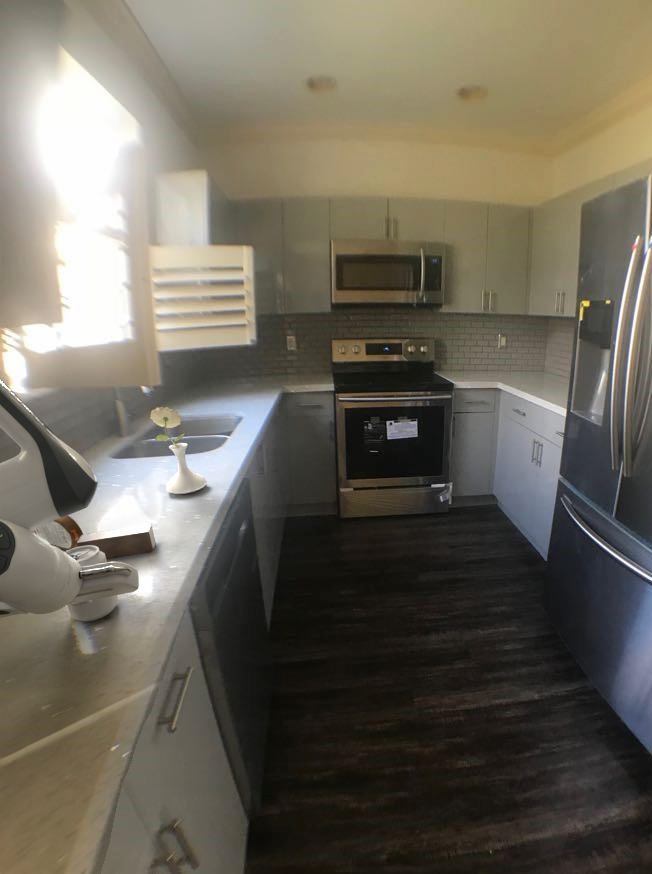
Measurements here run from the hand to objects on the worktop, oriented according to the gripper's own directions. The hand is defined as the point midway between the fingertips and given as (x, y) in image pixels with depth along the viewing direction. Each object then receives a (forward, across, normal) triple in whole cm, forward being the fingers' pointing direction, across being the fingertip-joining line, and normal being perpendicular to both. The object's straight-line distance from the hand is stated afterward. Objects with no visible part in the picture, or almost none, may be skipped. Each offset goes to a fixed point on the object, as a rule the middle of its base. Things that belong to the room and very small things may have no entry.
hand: (82, 599), depth 77 cm
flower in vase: (+47, -10, -40) cm, 62 cm away
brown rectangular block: (+22, 0, -15) cm, 27 cm away
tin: (+28, +14, -21) cm, 38 cm away
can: (+7, 0, +1) cm, 7 cm away
